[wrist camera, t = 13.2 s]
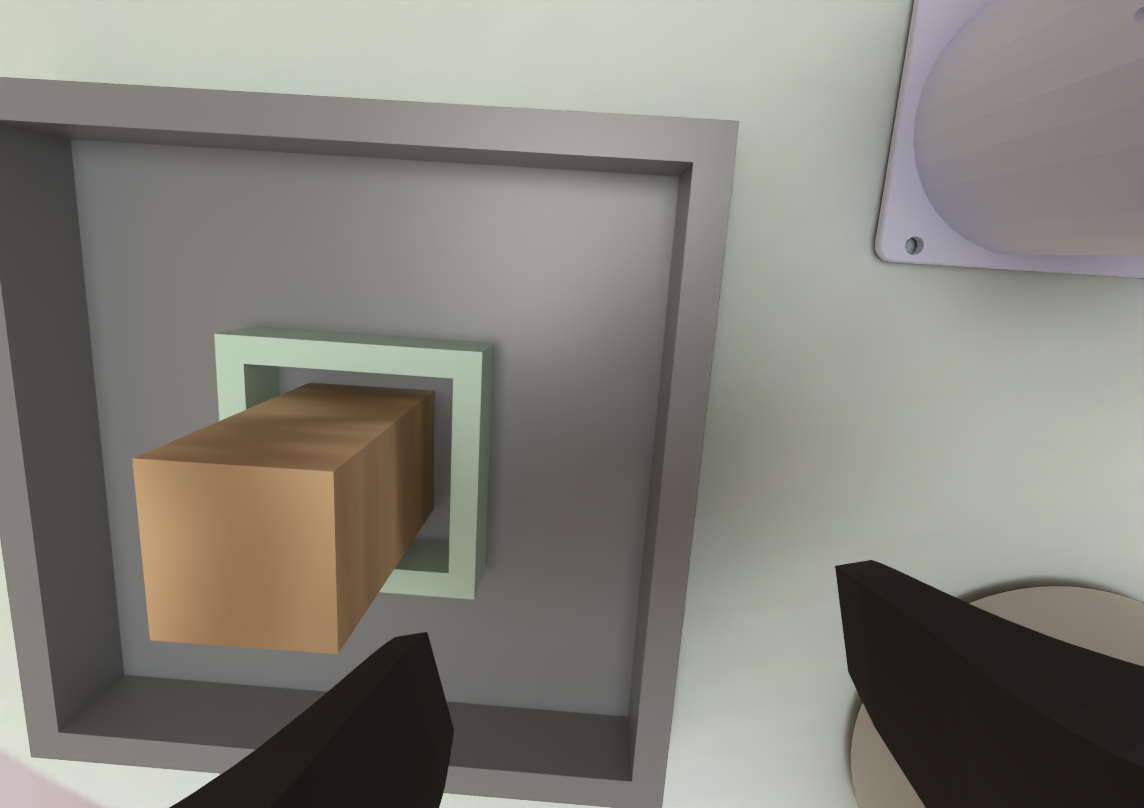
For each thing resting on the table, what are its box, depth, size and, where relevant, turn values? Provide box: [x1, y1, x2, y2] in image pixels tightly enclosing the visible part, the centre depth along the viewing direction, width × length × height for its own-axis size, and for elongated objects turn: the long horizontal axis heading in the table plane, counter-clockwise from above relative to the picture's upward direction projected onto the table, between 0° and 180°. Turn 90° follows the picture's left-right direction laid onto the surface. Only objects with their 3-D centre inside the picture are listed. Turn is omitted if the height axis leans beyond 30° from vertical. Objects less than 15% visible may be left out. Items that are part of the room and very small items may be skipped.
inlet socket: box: [214, 327, 494, 600], centre depth 20 cm, size 8×8×2 cm
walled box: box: [0, 77, 739, 808], centre depth 20 cm, size 20×20×4 cm
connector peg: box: [132, 383, 435, 654], centre depth 17 cm, size 4×4×8 cm
